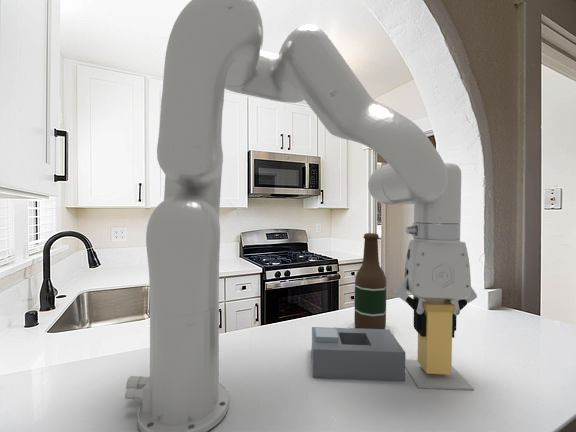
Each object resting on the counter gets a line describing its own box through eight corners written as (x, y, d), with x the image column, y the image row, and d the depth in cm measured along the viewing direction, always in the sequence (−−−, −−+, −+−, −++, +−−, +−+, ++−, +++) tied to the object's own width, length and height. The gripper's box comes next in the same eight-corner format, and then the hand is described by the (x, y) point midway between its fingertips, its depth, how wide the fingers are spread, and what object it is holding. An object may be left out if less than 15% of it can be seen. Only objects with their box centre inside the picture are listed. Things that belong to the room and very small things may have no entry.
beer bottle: (382, 323, 78) (383, 232, 77) (389, 335, 70) (391, 235, 70) (352, 321, 79) (353, 232, 78) (356, 334, 71) (357, 234, 70)
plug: (425, 374, 51) (426, 304, 51) (415, 360, 56) (416, 296, 56) (453, 375, 51) (455, 305, 51) (441, 361, 56) (442, 297, 56)
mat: (418, 388, 49) (418, 386, 49) (400, 360, 58) (400, 359, 58) (473, 390, 49) (473, 388, 49) (447, 362, 58) (447, 360, 58)
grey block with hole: (313, 377, 52) (313, 343, 52) (311, 350, 62) (311, 322, 62) (405, 380, 51) (405, 346, 51) (388, 353, 61) (389, 324, 61)
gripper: (395, 234, 50) (393, 341, 50) (498, 235, 49) (495, 345, 49) (383, 231, 57) (381, 324, 58) (472, 232, 56) (470, 327, 57)
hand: (434, 333), depth 53 cm, fingers closed on plug, 4 cm apart
